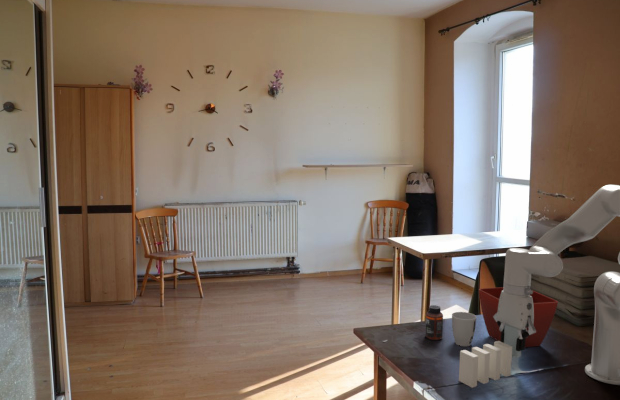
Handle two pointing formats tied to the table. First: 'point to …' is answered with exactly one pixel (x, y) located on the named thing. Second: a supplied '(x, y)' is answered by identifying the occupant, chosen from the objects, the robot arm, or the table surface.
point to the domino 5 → (511, 339)
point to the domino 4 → (505, 357)
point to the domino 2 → (482, 364)
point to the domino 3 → (494, 361)
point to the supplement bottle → (434, 323)
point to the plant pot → (542, 322)
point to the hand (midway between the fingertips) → (512, 346)
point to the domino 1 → (468, 368)
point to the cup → (463, 327)
